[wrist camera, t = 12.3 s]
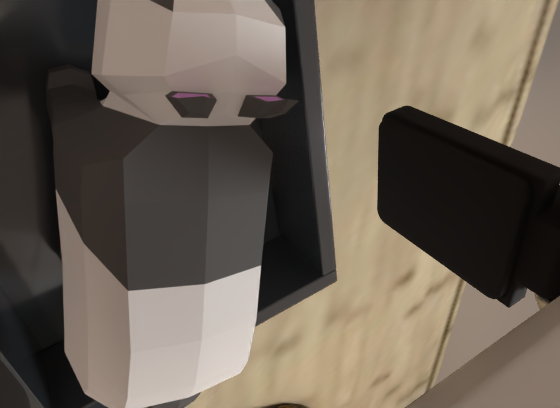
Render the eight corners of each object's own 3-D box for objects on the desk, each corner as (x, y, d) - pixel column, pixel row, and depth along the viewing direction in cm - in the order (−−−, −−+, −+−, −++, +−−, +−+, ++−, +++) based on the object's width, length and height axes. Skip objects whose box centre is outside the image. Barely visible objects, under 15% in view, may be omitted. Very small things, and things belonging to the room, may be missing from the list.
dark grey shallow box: (-319, -126, 10) (-483, -168, 6) (221, -173, 15) (297, -212, 11) (30, 357, 20) (42, 446, 16) (285, 233, 25) (337, 281, 21)
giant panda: (179, 275, 21) (282, 440, 14) (50, 299, 18) (97, 523, 11) (205, -80, 15) (409, -104, 8) (19, -129, 12) (79, -234, 5)
